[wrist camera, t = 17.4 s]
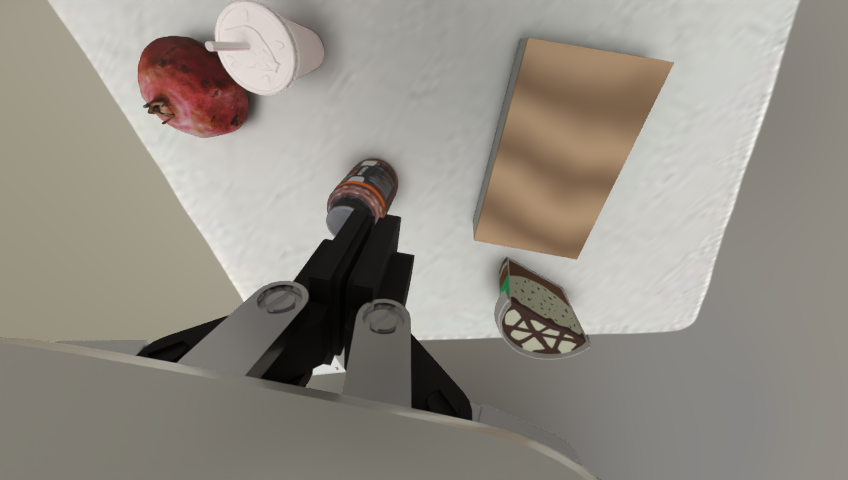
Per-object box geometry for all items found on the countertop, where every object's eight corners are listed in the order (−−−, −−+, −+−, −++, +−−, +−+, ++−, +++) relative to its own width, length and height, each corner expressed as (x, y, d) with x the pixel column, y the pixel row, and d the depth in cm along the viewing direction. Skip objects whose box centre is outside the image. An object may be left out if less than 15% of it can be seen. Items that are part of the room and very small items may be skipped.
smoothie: (290, -5, 31) (179, -37, 19) (348, 40, 32) (279, 38, 20) (267, 58, 34) (160, 65, 22) (321, 97, 35) (248, 123, 23)
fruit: (216, 16, 32) (127, 6, 24) (279, 105, 36) (222, 123, 28) (162, 66, 35) (67, 72, 27) (226, 143, 39) (160, 170, 31)
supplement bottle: (360, 148, 38) (324, 184, 28) (406, 170, 38) (387, 212, 29) (345, 190, 41) (309, 235, 31) (388, 210, 42) (365, 260, 32)
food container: (472, 281, 46) (474, 334, 38) (498, 251, 43) (506, 302, 34) (541, 317, 48) (557, 375, 40) (570, 291, 45) (594, 348, 37)
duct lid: (527, 38, 27) (528, 37, 26) (669, 62, 27) (674, 62, 26) (473, 236, 38) (473, 240, 37) (574, 255, 37) (576, 259, 37)
